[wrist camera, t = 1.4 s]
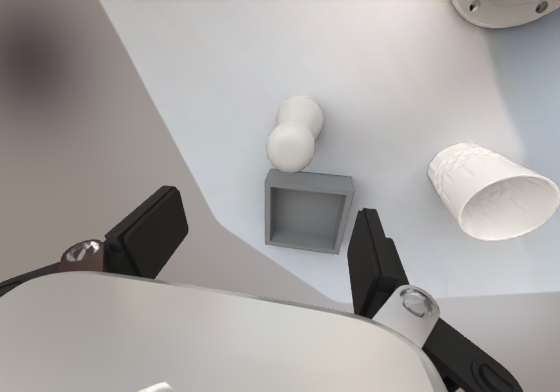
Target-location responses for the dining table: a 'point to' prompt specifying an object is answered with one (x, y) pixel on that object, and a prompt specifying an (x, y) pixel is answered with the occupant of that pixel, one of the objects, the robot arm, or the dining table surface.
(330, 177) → the box
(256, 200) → the dining table surface
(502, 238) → the white cup
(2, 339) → the robot arm
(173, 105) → the dining table surface
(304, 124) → the salt shaker
